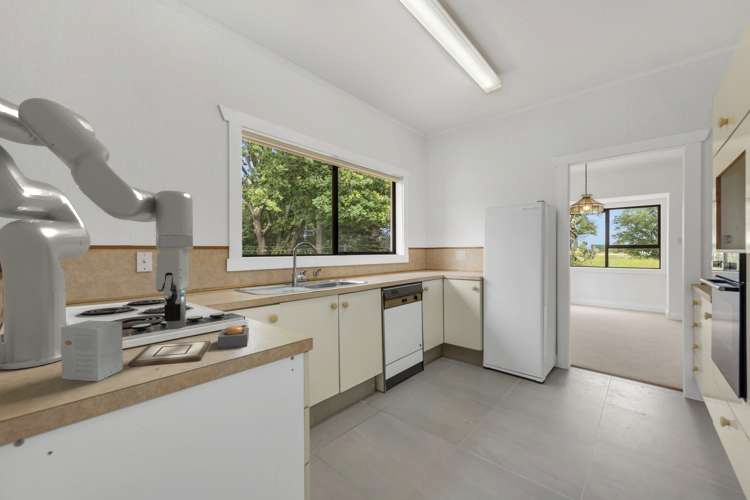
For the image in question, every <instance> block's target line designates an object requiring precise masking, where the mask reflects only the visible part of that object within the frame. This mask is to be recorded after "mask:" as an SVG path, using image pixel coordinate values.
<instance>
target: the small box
mask: <svg viewBox="0 0 750 500" xmlns="http://www.w3.org/2000/svg"><path fill="white" fill-rule="evenodd" d="M123 358H124V357H123V322H122V321H111V320H110V321H108V320H107V321H106V320H85V321H81V322H76V323H73V324H68V325H66V326H64V327H61V360H60V361H61V379H62V380H68V381H69V380H70V381H82V382H96V383H97V382H100V381H103V380H104V379H106V378H108V377H110V376H113V375H115V374H117V373H119V372H121V371H123V369H124V368H123V367H124V365H123Z"/></svg>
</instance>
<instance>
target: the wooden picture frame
mask: <svg viewBox="0 0 750 500" xmlns="http://www.w3.org/2000/svg"><path fill="white" fill-rule="evenodd" d="M210 345H211V340H203V341H187V342H186V341H185V342H173V343H159V344H157V343H156V344H148V345H147V346H146V347H145V348H143V350H141V351H140V352H139V353H138V354H137V355H136V356H135V357H134V358H132V359H131V360H130V361H129V362H128V367H139V366H150V365H161V364H163V365H164V364H172V363H173V364H174V363H175V364H176V363H183V362H184V363H185V362H195V361H196V362H197V361H202V359H203V357H204V355H205V353H206V352H207V350H208V349H209V346H210Z"/></svg>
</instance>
